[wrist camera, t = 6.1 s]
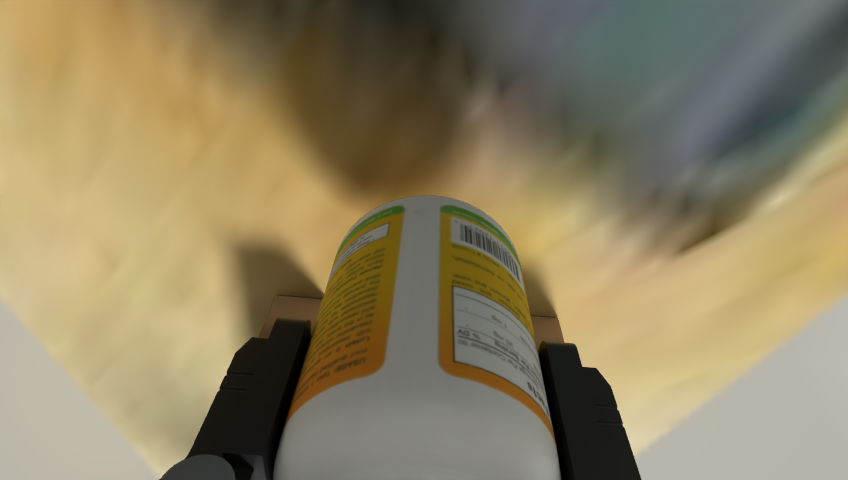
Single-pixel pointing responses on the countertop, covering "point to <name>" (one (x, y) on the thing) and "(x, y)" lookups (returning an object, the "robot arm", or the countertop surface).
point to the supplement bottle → (421, 357)
